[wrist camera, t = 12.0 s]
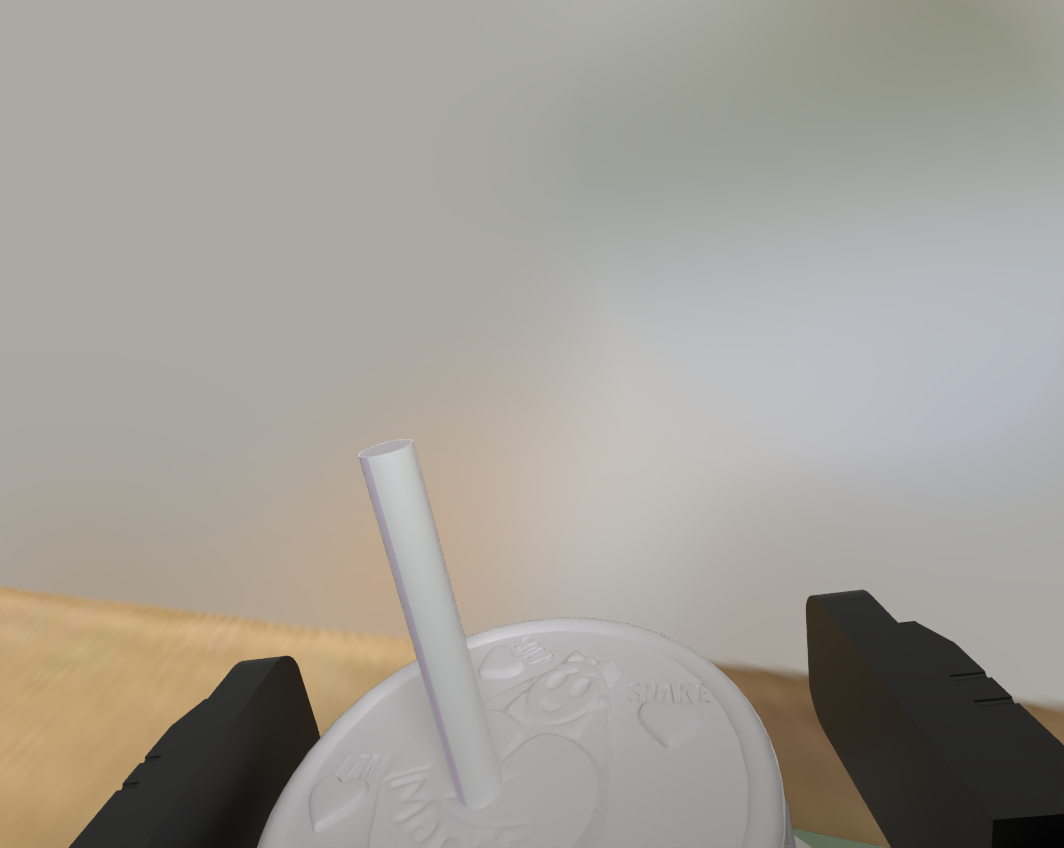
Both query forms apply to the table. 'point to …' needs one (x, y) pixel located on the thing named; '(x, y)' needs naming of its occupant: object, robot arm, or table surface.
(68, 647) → the table surface
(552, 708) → the smoothie
